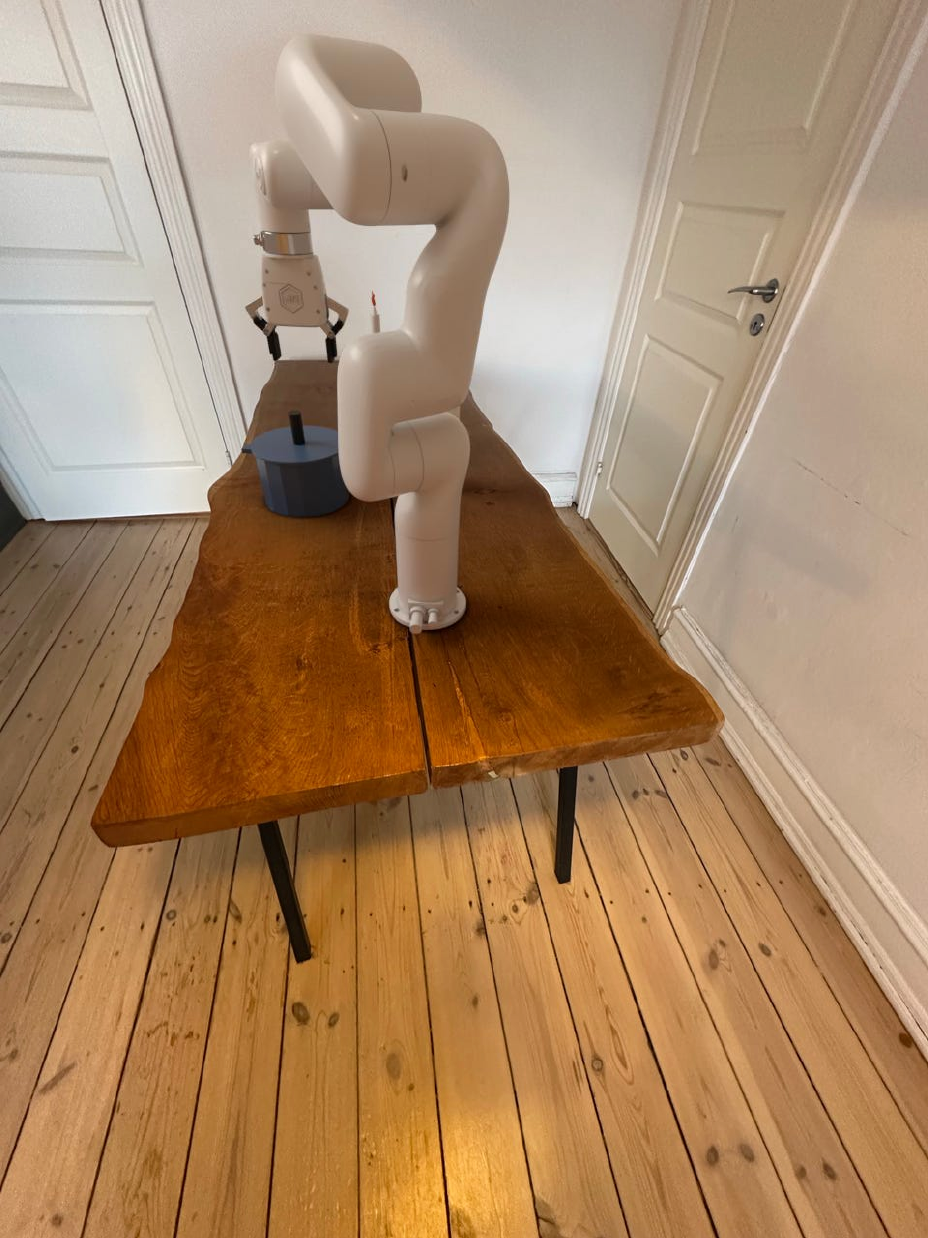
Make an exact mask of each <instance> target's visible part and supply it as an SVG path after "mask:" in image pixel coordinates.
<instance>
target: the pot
mask: <svg viewBox="0 0 928 1238" xmlns="http://www.w3.org/2000/svg"><path fill="white" fill-rule="evenodd" d="M241 453H242V454H248V455H249V454H250V455H254V454H253V453H252V451H251V443H250V444H249V443H245V444H244V445H243V446H242V447H241ZM254 458H255V463H256V467H257V472H258V477H259V481H260V485H261V489H262V494H263V498H264V503H265V505H266V507H267V508H268V509H269V510H270V511H271V512H273V513H276V514H278V515H281V516H285V517H289V518H313V517H319V516H324V515H328V514H330V513H333V512H335V511H337V510H339V509H341V508H342V507H344V506H345V505H346V504H347V502H348V501H349V499H350V494H351V493H350V492H349V490H348V489H347V487H346V485H345V483H344V480H343V477H342V474H341V469H340V463H339V454H338V455H336V456H334V457H332V458H330V459H327V460H324V461H320V462H316V463H310V464H301V465H284V464H275V463H270V462H267V461H264V460H261V459H259V458H257V457H256V456H255V455H254Z"/></svg>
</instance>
